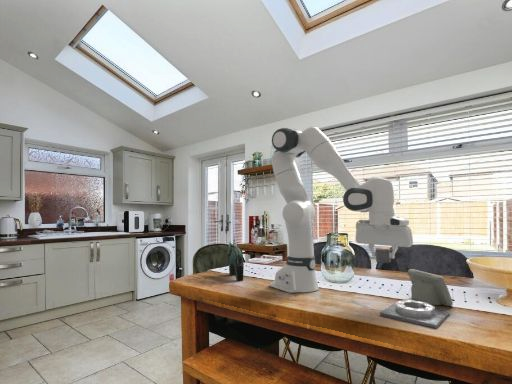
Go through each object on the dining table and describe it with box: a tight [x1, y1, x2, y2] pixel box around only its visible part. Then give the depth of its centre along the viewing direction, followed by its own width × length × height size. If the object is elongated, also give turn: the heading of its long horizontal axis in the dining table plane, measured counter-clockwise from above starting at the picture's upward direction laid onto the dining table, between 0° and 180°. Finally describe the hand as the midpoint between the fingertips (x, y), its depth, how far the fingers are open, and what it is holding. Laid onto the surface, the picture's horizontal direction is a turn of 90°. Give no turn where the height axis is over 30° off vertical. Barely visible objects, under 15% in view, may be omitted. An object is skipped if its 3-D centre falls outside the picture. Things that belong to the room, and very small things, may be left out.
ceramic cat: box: [226, 239, 245, 282], centre depth 157 cm, size 20×6×20 cm, turn 17°
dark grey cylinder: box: [375, 246, 392, 264], centre depth 110 cm, size 5×5×5 cm
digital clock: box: [407, 268, 454, 307], centre depth 110 cm, size 16×9×11 cm, turn 2°
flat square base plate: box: [379, 299, 451, 329], centre depth 96 cm, size 16×16×3 cm
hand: (383, 257), depth 110 cm, fingers closed on dark grey cylinder, 5 cm apart
